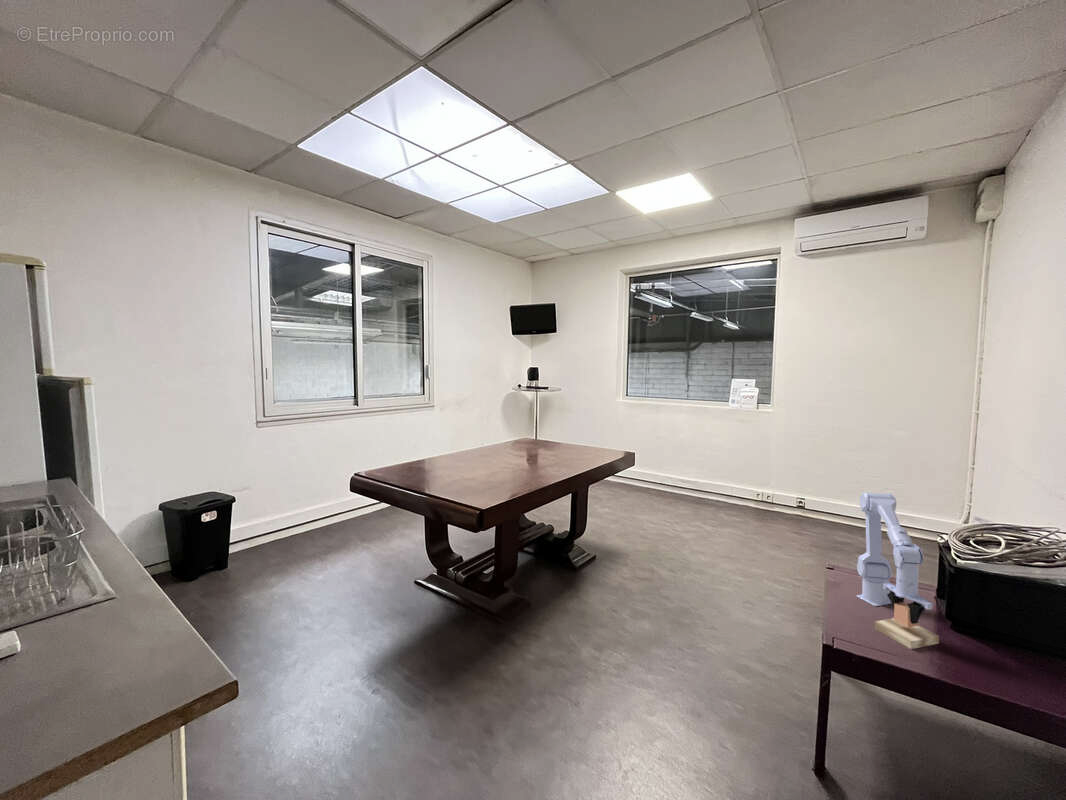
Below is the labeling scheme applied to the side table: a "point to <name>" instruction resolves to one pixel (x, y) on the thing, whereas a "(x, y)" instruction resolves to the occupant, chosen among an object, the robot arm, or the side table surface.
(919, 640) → the birch base
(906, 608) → the terracotta block
